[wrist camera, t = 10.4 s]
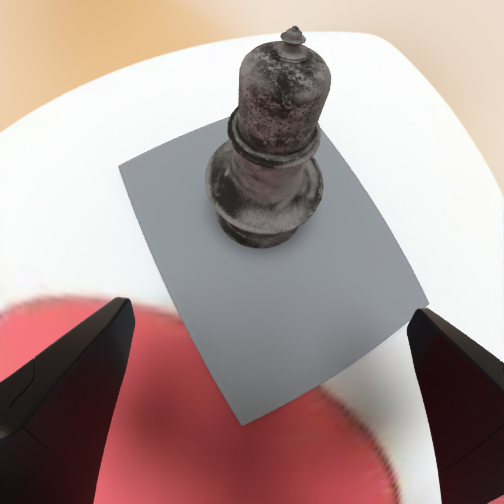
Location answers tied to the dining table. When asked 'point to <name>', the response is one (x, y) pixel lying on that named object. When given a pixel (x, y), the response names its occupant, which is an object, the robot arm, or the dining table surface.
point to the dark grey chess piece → (271, 145)
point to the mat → (271, 276)
